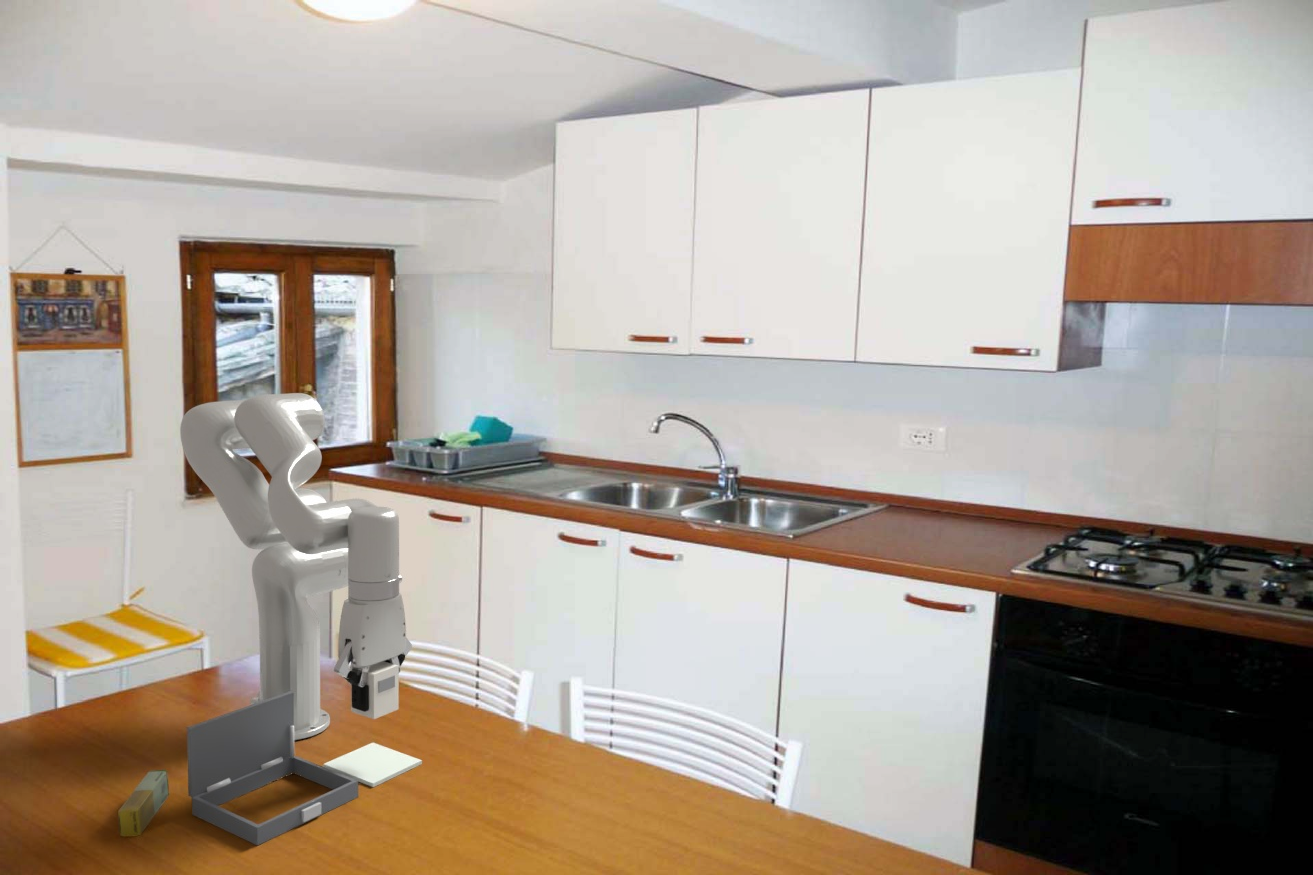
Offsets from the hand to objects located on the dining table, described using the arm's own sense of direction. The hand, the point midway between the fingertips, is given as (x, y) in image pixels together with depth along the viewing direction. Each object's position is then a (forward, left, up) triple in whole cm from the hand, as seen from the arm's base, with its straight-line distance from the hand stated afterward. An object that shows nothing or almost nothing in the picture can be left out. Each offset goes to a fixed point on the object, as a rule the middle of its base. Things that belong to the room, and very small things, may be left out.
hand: (374, 702), depth 163 cm
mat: (0, 0, -10) cm, 10 cm away
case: (-1, -17, -10) cm, 20 cm away
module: (0, 0, -1) cm, 1 cm away
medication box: (-14, -29, -11) cm, 34 cm away
